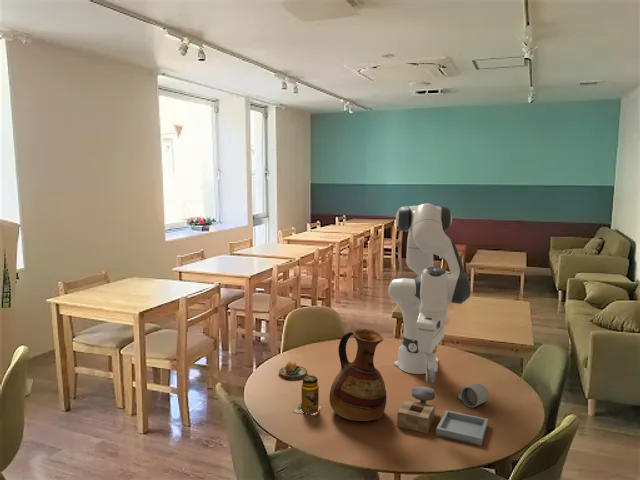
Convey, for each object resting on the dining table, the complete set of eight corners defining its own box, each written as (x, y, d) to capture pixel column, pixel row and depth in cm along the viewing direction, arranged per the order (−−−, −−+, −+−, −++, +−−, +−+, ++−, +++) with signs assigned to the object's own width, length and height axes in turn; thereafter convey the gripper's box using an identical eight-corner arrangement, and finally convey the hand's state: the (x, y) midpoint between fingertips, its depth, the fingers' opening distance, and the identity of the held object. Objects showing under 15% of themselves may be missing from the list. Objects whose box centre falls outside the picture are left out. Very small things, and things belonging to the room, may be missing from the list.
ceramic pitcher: (371, 434, 161) (373, 344, 157) (318, 417, 171) (318, 333, 167) (395, 410, 177) (397, 328, 173) (345, 396, 188) (347, 319, 184)
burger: (312, 376, 206) (312, 359, 206) (288, 383, 200) (288, 365, 199) (297, 367, 216) (297, 350, 215) (273, 373, 210) (273, 356, 209)
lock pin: (426, 377, 167) (427, 344, 165) (437, 379, 165) (438, 346, 164) (423, 381, 164) (424, 348, 162) (434, 383, 162) (435, 349, 161)
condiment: (315, 416, 172) (316, 383, 171) (293, 412, 175) (293, 379, 173) (322, 406, 179) (322, 375, 178) (300, 403, 182) (300, 372, 180)
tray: (445, 416, 173) (445, 410, 172) (487, 425, 167) (488, 418, 166) (436, 435, 160) (436, 428, 160) (481, 446, 154) (481, 438, 154)
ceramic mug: (489, 404, 182) (490, 385, 181) (477, 410, 177) (478, 390, 176) (465, 395, 190) (466, 376, 189) (453, 401, 185) (453, 382, 184)
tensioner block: (412, 404, 182) (412, 384, 181) (439, 409, 177) (440, 389, 176) (397, 426, 166) (397, 404, 165) (426, 433, 161) (427, 411, 160)
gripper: (431, 308, 172) (430, 347, 174) (414, 324, 154) (413, 366, 156) (449, 311, 169) (448, 350, 171) (434, 327, 151) (432, 370, 153)
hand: (431, 358), depth 163 cm, fingers closed on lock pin, 3 cm apart
